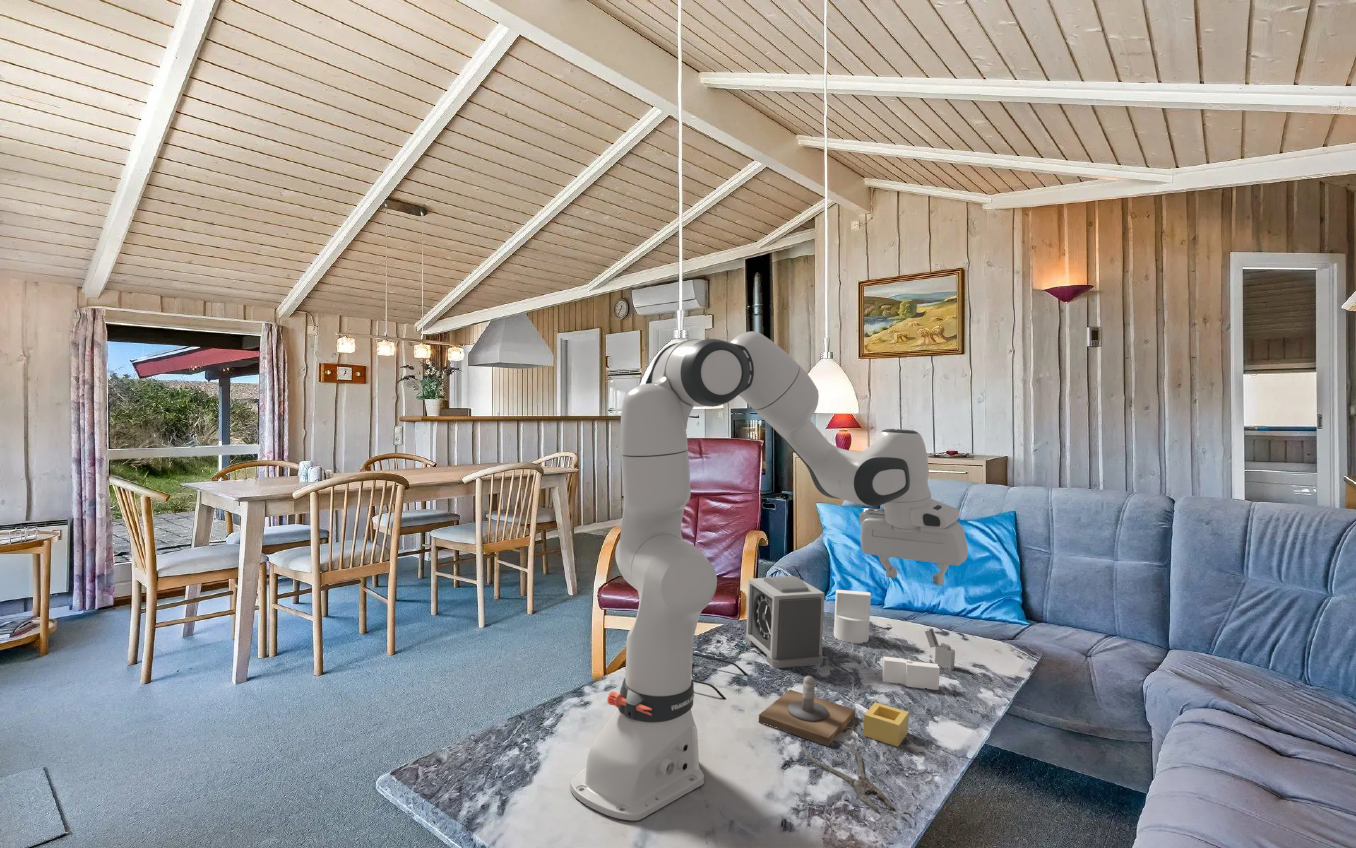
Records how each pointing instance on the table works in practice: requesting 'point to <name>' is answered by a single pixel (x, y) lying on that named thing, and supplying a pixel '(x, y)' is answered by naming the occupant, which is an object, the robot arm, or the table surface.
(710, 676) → the table surface
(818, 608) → the alarm clock
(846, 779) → the pliers
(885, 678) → the white stepped block
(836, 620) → the base with upright slab
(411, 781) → the table surface
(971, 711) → the table surface
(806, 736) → the post stand
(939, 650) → the lighter
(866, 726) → the block with square hole
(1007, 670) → the table surface
